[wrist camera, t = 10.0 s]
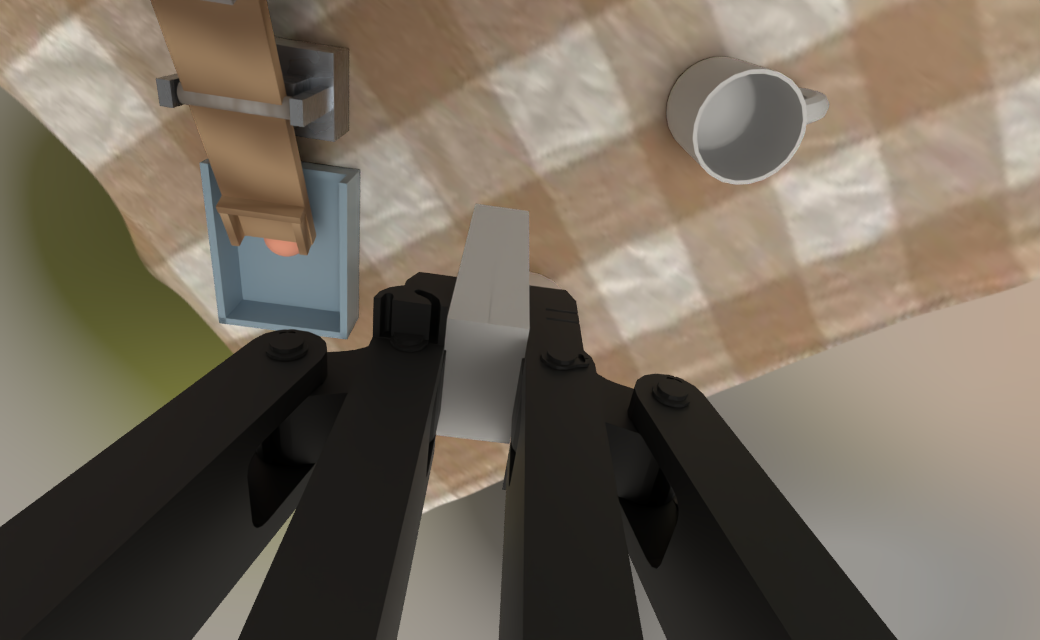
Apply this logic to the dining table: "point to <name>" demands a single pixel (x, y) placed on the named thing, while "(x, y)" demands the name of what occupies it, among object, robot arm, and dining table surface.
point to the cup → (740, 118)
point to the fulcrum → (301, 88)
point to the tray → (292, 262)
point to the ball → (282, 247)
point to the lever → (240, 115)
